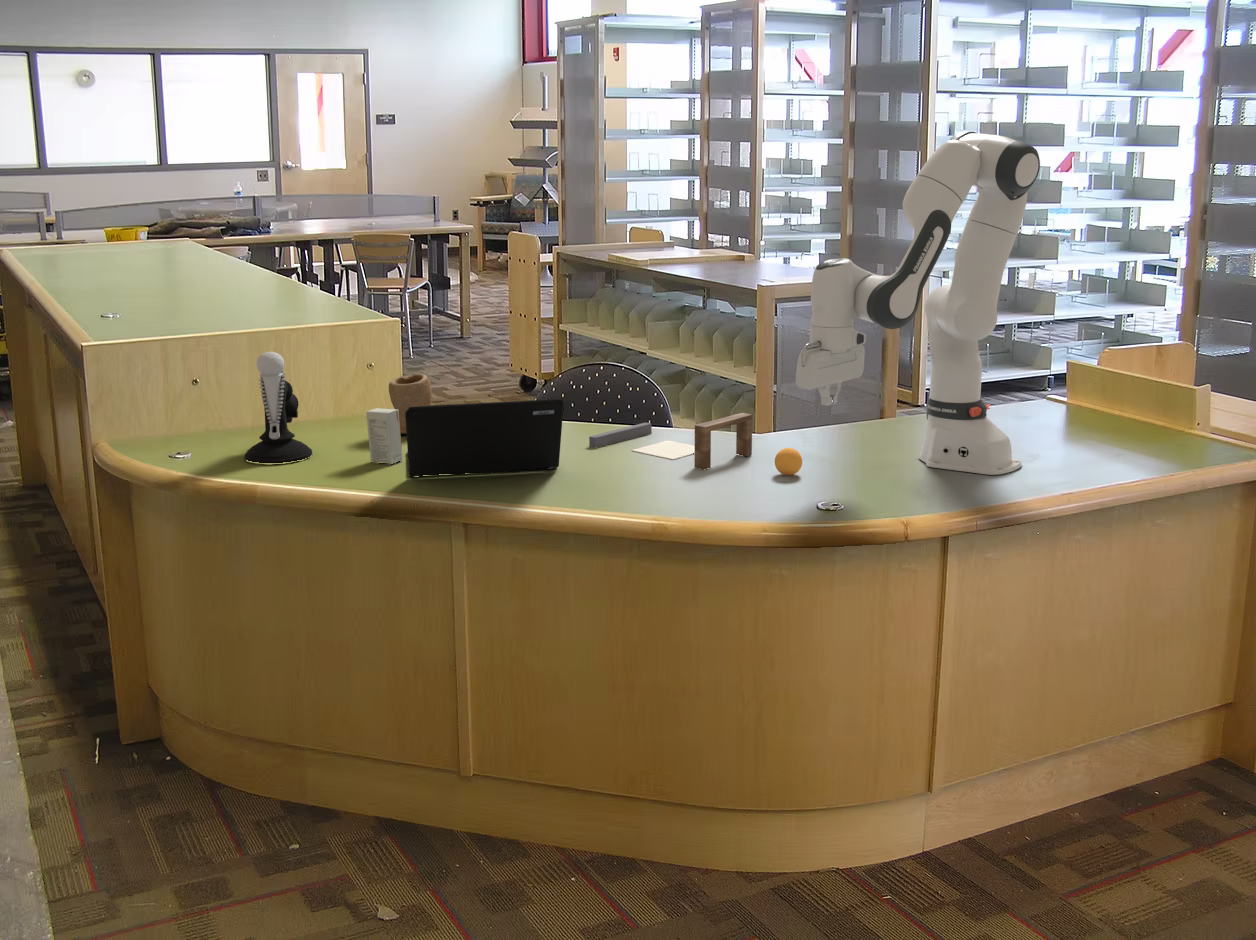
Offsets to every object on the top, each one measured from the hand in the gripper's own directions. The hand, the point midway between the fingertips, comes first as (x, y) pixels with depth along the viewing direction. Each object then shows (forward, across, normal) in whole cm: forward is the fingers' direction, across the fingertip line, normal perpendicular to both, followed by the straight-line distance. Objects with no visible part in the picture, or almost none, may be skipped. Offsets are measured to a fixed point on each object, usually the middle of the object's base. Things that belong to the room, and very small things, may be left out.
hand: (829, 404), depth 264 cm
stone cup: (+17, -28, +103) cm, 108 cm away
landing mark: (+17, 0, +44) cm, 47 cm away
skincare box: (+17, -51, +86) cm, 102 cm away
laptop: (+18, -40, +65) cm, 78 cm away
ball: (+14, 0, +10) cm, 17 cm away
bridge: (+17, 0, +28) cm, 33 cm away
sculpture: (+17, -62, +112) cm, 129 cm away
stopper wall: (+17, 0, +60) cm, 62 cm away
